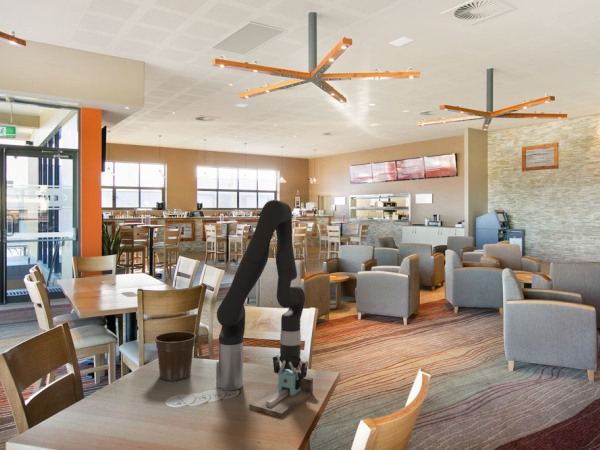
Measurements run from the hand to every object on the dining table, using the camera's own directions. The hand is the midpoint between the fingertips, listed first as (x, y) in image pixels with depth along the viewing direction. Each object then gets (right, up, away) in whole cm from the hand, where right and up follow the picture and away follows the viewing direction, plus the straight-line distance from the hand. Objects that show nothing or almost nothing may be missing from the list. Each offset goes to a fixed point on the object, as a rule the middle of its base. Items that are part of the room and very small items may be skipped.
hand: (289, 386), depth 162 cm
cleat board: (-3, -3, -4) cm, 6 cm away
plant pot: (-47, -2, +18) cm, 51 cm away
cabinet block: (0, -2, 0) cm, 2 cm away
